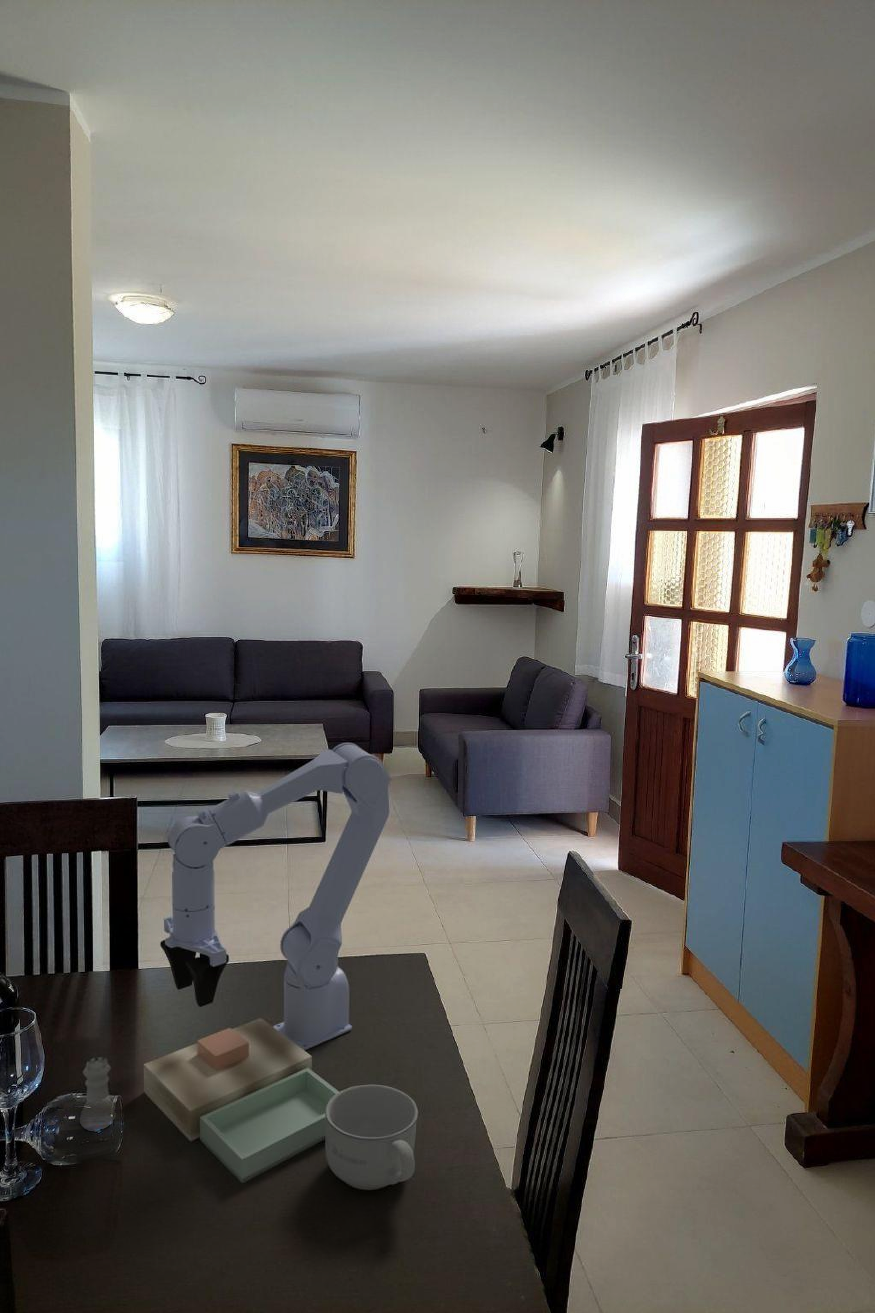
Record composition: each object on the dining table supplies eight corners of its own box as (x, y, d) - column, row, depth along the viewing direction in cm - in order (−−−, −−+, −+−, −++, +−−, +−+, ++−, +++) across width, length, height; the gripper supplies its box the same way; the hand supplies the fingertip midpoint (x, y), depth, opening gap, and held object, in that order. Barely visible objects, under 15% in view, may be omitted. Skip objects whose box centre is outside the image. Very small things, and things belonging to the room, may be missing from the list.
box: (307, 1088, 120) (307, 1067, 119) (352, 1124, 113) (353, 1102, 112) (199, 1139, 109) (199, 1117, 109) (242, 1183, 102) (242, 1159, 101)
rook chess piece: (104, 1136, 109) (102, 1075, 108) (71, 1130, 110) (70, 1070, 109) (123, 1113, 114) (122, 1055, 113) (92, 1108, 114) (91, 1050, 113)
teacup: (314, 1153, 107) (314, 1091, 106) (397, 1132, 111) (398, 1072, 110) (348, 1235, 94) (349, 1167, 93) (441, 1208, 99) (443, 1142, 98)
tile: (230, 1041, 124) (230, 1027, 123) (248, 1056, 120) (248, 1042, 120) (197, 1054, 120) (197, 1040, 120) (215, 1070, 117) (215, 1056, 116)
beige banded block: (260, 1043, 130) (260, 1017, 130) (311, 1083, 121) (311, 1056, 120) (144, 1092, 118) (143, 1064, 118) (190, 1141, 109) (190, 1111, 108)
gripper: (143, 894, 126) (144, 984, 128) (192, 928, 116) (193, 1026, 117) (189, 883, 131) (189, 970, 132) (239, 914, 120) (240, 1008, 122)
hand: (194, 995), depth 125 cm, fingers open, 6 cm apart
